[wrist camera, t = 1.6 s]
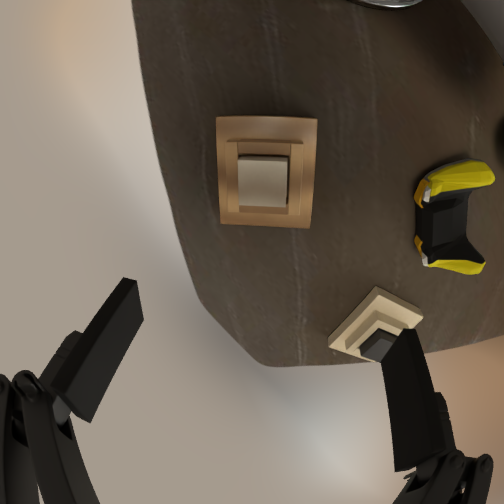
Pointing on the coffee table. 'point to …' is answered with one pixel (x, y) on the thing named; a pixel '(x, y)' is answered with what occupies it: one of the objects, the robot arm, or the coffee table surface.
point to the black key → (377, 345)
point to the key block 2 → (374, 321)
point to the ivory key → (262, 181)
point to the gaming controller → (449, 215)
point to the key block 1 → (267, 144)
